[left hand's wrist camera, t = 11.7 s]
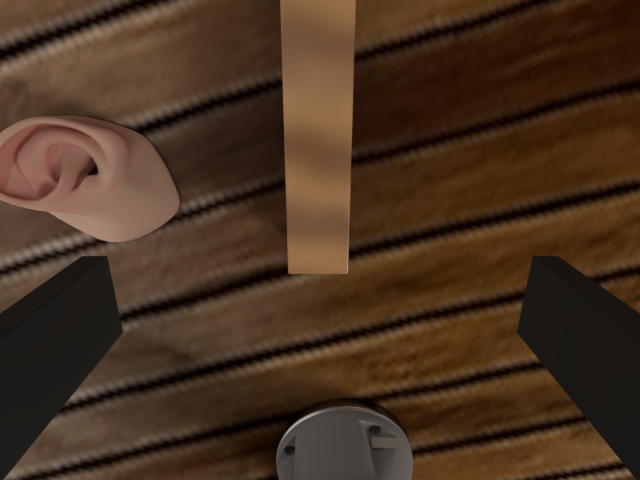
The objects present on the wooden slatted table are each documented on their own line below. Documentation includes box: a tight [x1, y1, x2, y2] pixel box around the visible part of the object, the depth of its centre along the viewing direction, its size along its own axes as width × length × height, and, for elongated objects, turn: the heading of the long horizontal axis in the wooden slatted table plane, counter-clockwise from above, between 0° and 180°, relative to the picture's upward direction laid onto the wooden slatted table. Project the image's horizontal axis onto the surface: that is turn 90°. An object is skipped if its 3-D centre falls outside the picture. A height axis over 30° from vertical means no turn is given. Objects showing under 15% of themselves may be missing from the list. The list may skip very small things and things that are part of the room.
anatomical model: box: [0, 115, 180, 242], centre depth 32 cm, size 13×4×12 cm
